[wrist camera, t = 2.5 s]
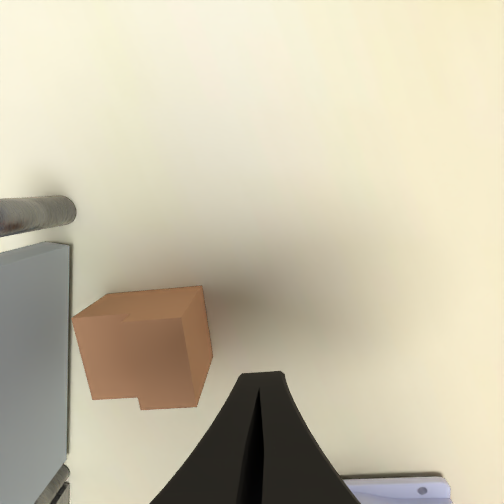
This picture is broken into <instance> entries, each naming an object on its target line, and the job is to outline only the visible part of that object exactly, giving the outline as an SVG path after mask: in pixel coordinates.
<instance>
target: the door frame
mask: <svg viewBox="0 0 504 504" xmlns="http://www.w3.org/2000/svg"><path fill="white" fill-rule="evenodd" d="M75 216H76V208H75V206H74V204H73V202H72V201H71V200H70V199H68V198H67V197H64V196H45V197H25V198H4V199H0V237H4V236H9V235H15V234H20V233H25V232H30V231H35V230H41V229H46V228H51V227H56V226H61V225H66V224H69V223H71V222H72V221H73V220H74V219H75ZM68 477H69V470H68V468H67V467H66V466H64V465H62V466H61V467H60V469H59V470H58V471H57V473H56V474H55V476H54V477H53V478H52V480H51V481H50V482H49V484H48V485H47V486H46V488H45V489H44V490H43V492H42V493H41V494H40V496H39V497H38V499H37V500H36V501H35V503H34V504H69V484H68V483H64V482H65V481H66V479H67V478H68Z"/></svg>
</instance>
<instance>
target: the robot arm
mask: <svg viewBox="0 0 504 504" xmlns="http://www.w3.org/2000/svg"><path fill="white" fill-rule="evenodd" d="M450 490H451V489H450V486H449V484H448V482H447V481H446V479H445V478H443V477H438V476H437V477H406V478H376V479H345V480H342V478H341V477H340V476H339V474H338V473H337V472H336V470H335V469H334V467H333V466H332V465H331V463H330V462H329V460H328V459H327V457H326V456H325V454H324V453H323V451H322V450H321V448H320V447H319V445H318V443H317V442H316V440H315V439H314V437H313V435H312V434H311V432H310V430H309V429H308V427H307V425H306V423H305V421H304V420H303V418H302V416H301V414H300V412H299V410H298V408H297V406H296V404H295V402H294V400H293V398H292V396H291V393H290V391H289V388H288V386H287V383H286V379H285V374H284V373H282V372H281V371H274V372H258V373H242V374H241V375H240V376H239V377H238V380H237V382H236V384H235V386H234V387H233V389H232V391H231V393H230V395H229V397H228V398H227V400H226V402H225V404H224V405H223V407H222V409H221V410H220V412H219V413H218V415H217V417H216V418H215V420H214V421H213V423H212V425H211V426H210V428H209V429H208V431H207V432H206V433H205V435H204V436H203V438H202V439H201V440H200V442H199V443H198V445H197V446H196V448H195V449H194V450H193V452H192V453H191V455H190V456H189V457H188V458H187V460H186V461H185V462H184V464H183V465H182V466H181V467H180V469H179V470H178V471H177V472H176V474H175V475H174V476H173V477H172V478H171V480H170V481H169V482H168V483H167V485H166V486H165V487H164V488H163V489H162V490H161V491H160V493H159V494H158V495H157V496H156V497H155V498H154V499H153V500H152V501H151V503H150V504H453V502H452V501H451V499H450Z"/></svg>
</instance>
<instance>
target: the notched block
mask: <svg viewBox="0 0 504 504" xmlns="http://www.w3.org/2000/svg"><path fill="white" fill-rule="evenodd" d="M71 319H72V323H73V327H74V331H75V334H76V338H77V342H78V346H79V350H80V354H81V357H82V361H83V365H84V369H85V373H86V377H87V380H88V384H89V388H90V392H91V396H92V400H100V399H117V398H134V397H138V400H139V405H140V409H141V410H151V409H169V408H187V407H197V405H198V402H199V399H200V395H201V392H202V389H203V386H204V383H205V380H206V377H207V374H208V370H209V367H210V364H211V361H212V358H213V354H212V348H211V341H210V334H209V328H208V321H207V315H206V308H205V302H204V295H203V288H202V286H192V287H180V288H168V289H157V290H145V291H134V292H122V293H111V294H106V295H105V296H103V297H102V298H100V299H99V300H97V301H96V302H94V303H93V304H92V305H90V306H89V307H87V308H86V309H84V310H83V311H81V312H80V313H78V314H77V315H75V316H74V317H72V318H71Z"/></svg>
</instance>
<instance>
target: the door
mask: <svg viewBox="0 0 504 504" xmlns="http://www.w3.org/2000/svg"><path fill="white" fill-rule="evenodd" d="M69 246H70V245H64V244H58V243H52V242H46V241H45V242H41V243H37V244H33V245H30V246H26V247H22V248H18V249H14V250H10V251H6V252H2V253H0V504H34V503H35V501H36V500H37V499H38V497H39V496H40V494H41V493H42V492H43V490H44V489H45V488H46V486H47V485H48V484H49V482H50V481H51V480H52V478H53V477H54V476H55V474H56V473H57V471H58V470H59V469H60V467H61V466H62V465H63V463H64V462H65V461H66V454H67V385H68V315H69Z"/></svg>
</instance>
